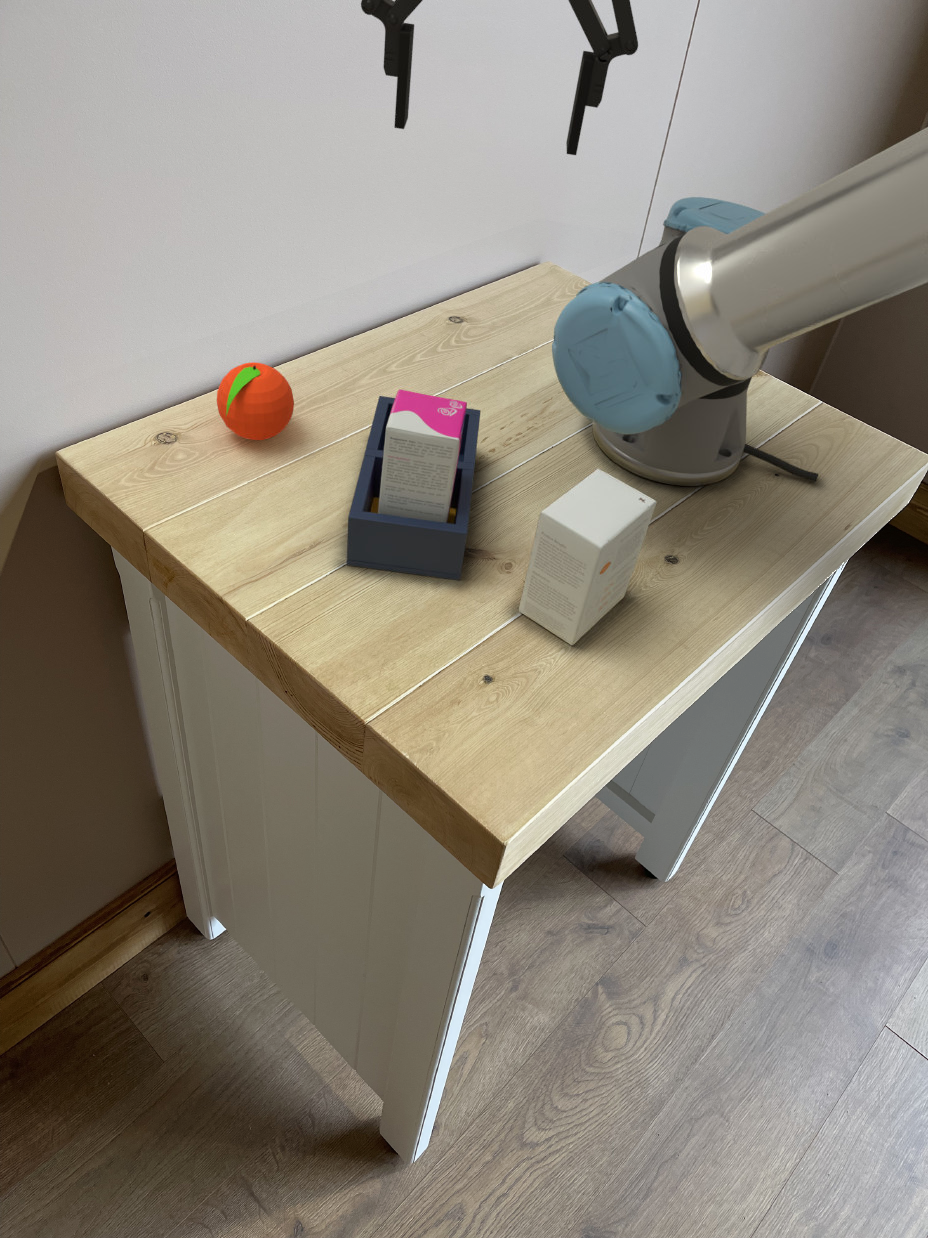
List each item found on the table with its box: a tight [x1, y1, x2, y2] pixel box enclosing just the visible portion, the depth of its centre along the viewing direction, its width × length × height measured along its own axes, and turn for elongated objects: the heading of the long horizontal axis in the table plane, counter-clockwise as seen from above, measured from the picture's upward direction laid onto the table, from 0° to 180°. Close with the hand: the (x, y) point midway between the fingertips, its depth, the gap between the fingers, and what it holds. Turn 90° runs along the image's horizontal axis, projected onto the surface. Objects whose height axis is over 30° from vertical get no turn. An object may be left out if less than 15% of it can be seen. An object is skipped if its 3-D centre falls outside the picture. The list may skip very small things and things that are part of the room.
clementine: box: [216, 362, 295, 441], centre depth 84 cm, size 8×7×7 cm
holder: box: [346, 395, 481, 581], centre depth 80 cm, size 18×9×5 cm, turn 176°
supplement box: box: [378, 389, 468, 523], centre depth 74 cm, size 6×6×12 cm
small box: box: [518, 468, 658, 646], centre depth 72 cm, size 8×6×10 cm
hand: (486, 136), depth 73 cm, fingers open, 13 cm apart
